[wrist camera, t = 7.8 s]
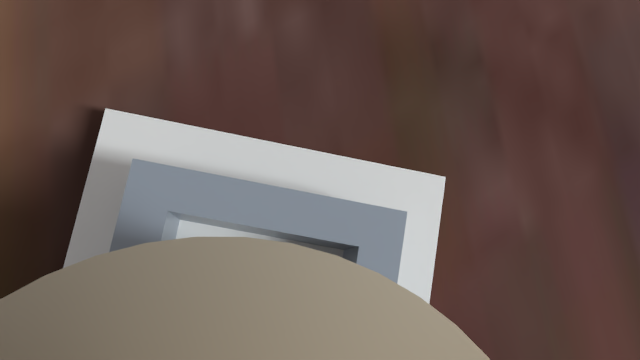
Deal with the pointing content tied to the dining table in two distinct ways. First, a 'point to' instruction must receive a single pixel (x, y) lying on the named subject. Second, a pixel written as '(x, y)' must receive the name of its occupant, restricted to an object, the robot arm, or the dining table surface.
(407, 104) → the dining table surface
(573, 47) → the dining table surface
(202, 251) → the peg
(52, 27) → the dining table surface
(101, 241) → the socket block
